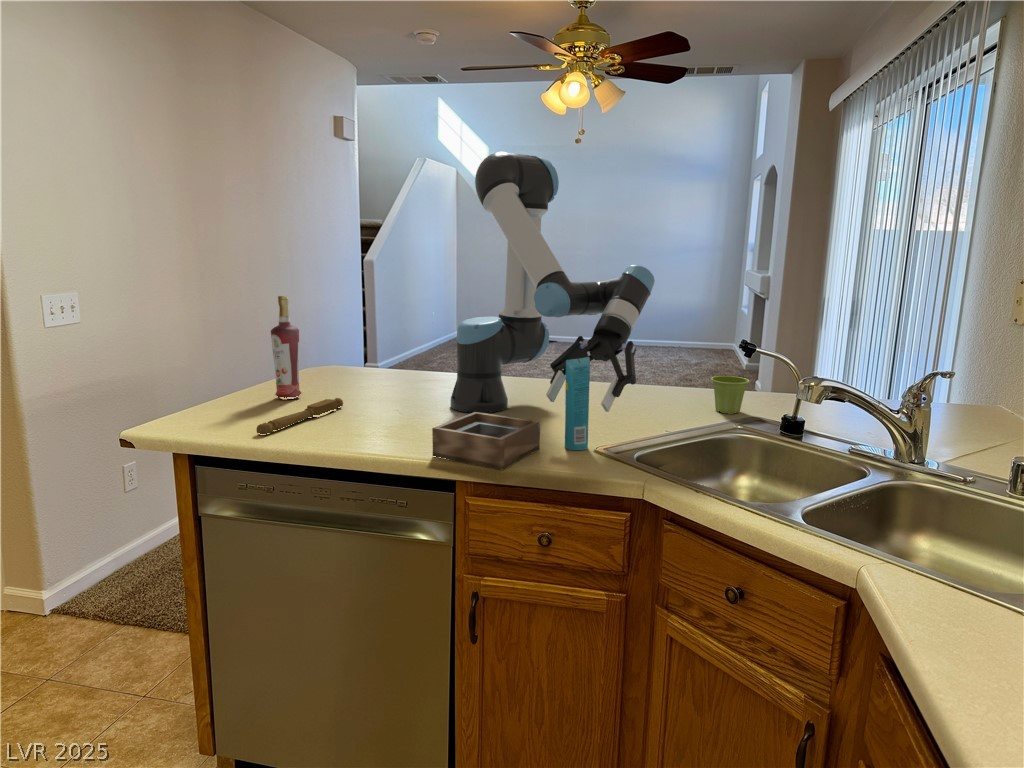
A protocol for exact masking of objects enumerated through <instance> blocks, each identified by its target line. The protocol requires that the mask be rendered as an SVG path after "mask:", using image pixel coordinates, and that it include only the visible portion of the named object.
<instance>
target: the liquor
mask: <svg viewBox="0 0 1024 768" xmlns="http://www.w3.org/2000/svg"><path fill="white" fill-rule="evenodd" d="M289 301H290V300H289V295H277V303H278V307H279V313H278V314H279V315H278V325H275V326H274V327H273V328H271V329H270V338H271V346H272V347H271V348H272V356H273V363H274V364H273V365H274V375H275V384H276V385H275V388H276V392H275V397H277V396H278V397H284V398H285V397H286V398H287V397H296V396H298V397H300V395H301V394H302V392H301V389H300V329H299V328H298V327H296V326H294V325H292V324H291V318H290V314H289V313H290V312H289V303H290V302H289ZM278 397H277V398H278Z"/></svg>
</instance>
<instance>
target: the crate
mask: <svg viewBox="0 0 1024 768" xmlns="http://www.w3.org/2000/svg"><path fill="white" fill-rule="evenodd" d="M431 431H432V434H431V435H432V457H433V456H436V457H441V458H446V459H449V460H448V461H451V460H452V462H456V463H462V464H467V465H474V466H477V467H482V468H487V469H493V470H498V471H503V470H504V469H505V470H506V468H508V467H510V466H512V465H514V464H515V463H517V462H519V461H521V460H522V459H523V460H524V458H526V457H528V456H530V455H532V454H533V452H534V453H535V452H537V451H539V450H540V445H541V444H540V443H541V441H540V439H541V421H539V420H533V419H526V418H520V417H519V418H518V417H511V416H505V415H498V414H493V413H491V414H490V413H479V412H473V413H467V414H466V415H464V416H461V417H457V418H456V419H452V420H451V421H448V422H445V423H442V424H439V425H437V426H434V427H432V430H431ZM436 457H435V458H436ZM441 458H440V459H441ZM446 459H445V460H446Z"/></svg>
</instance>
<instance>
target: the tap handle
mask: <svg viewBox="0 0 1024 768" xmlns="http://www.w3.org/2000/svg"><path fill="white" fill-rule="evenodd" d="M343 401H344V400H342V399H341V398H339V397H335V398H334V399H332V398H327V399H323V400H320V401H318V402H317V401H316V402H314V403H311V404H308V405H307V406H306V408H305V409H304V410H302V411H299V412H295V413H292V414H288V415H285V416H282V417H279V418H274V419H272V420H269V421H267V422H262V423H260V424H258V425H257V427H256V428H255V429H256V433H257V434H258V433H260V434H267V433H271V432H272V431H273V430H278V429H281V428H283V427H286V426H288V425H291V424H293V423H296V422H298V421H301V420H303V419H306V418H308V417H313V415H320V414H322V413H325V412H328V411H330V410H334V409H337V408H338V407H340V406H342V407H343V406H344V402H343ZM337 410H338V409H337ZM306 420H307V419H306ZM303 421H304V420H303ZM301 422H302V421H301ZM272 433H273V432H272ZM272 433H271V434H272Z"/></svg>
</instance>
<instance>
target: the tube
mask: <svg viewBox="0 0 1024 768" xmlns="http://www.w3.org/2000/svg"><path fill="white" fill-rule="evenodd" d="M590 371H591V361H590V358H589V357H585V358H580V359H571V360H566V375H565V377H566V380H565V402H564V403H565V410H564V414H565V415H564V418H565V419H564V420H565V421H564V423H565V424H564V448H565V449H566V450H570V451H585V450H587V449H588V447H589V411H590V380H591V379H590V378H591V376H590V374H591V372H590Z"/></svg>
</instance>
